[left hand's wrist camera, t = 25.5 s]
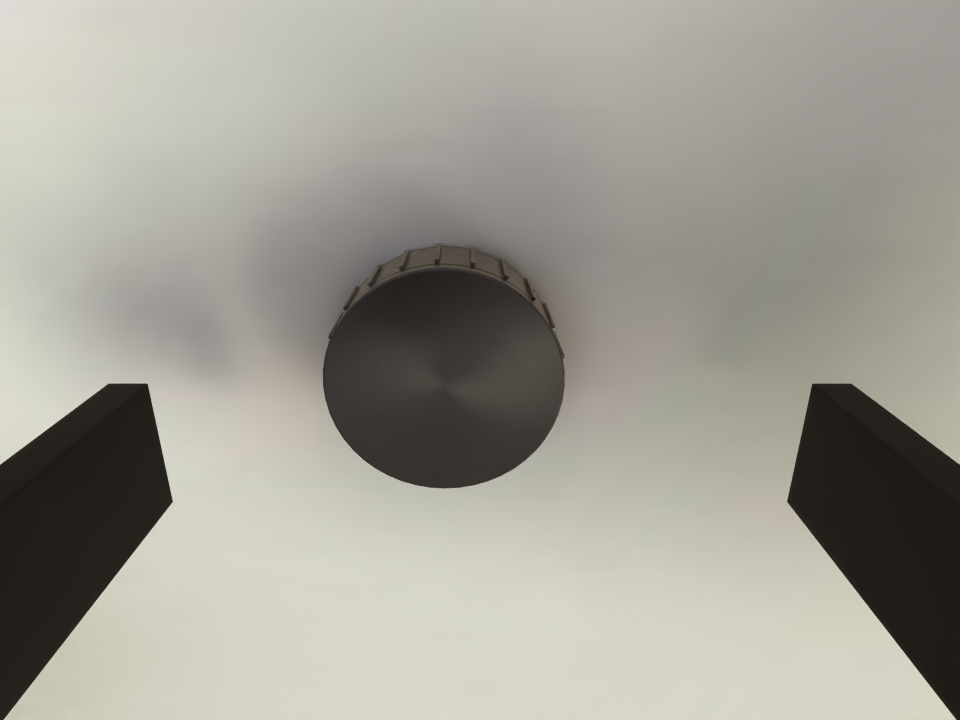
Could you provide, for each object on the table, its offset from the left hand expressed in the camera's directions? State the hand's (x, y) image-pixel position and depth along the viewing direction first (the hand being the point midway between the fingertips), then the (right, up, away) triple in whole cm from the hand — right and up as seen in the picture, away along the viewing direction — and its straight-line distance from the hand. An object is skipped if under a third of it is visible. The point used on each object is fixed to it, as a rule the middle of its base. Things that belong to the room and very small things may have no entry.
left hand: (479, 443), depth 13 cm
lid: (-1, +1, +3) cm, 3 cm away
